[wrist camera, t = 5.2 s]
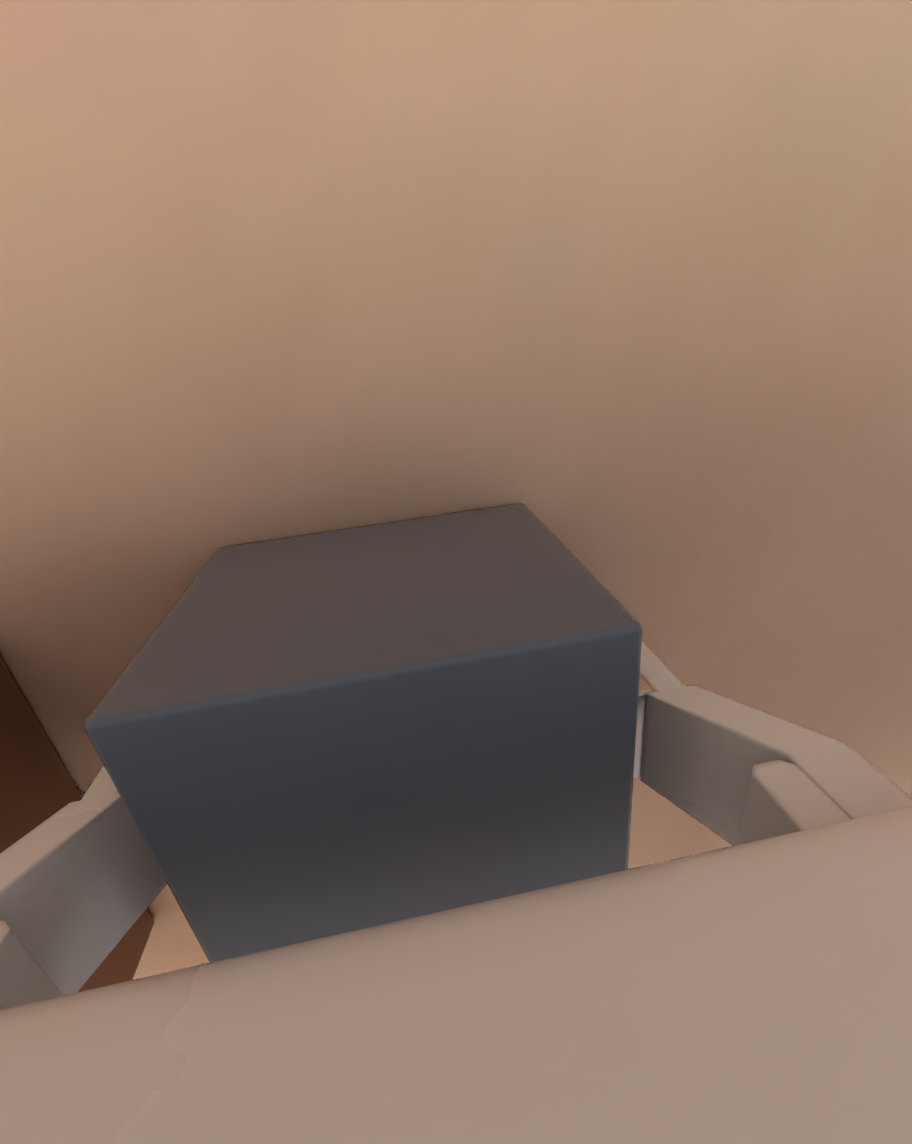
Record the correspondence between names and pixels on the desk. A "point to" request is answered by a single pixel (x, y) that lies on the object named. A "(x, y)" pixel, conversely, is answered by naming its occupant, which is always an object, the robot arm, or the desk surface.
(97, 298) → the desk surface
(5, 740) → the walnut block
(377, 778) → the slate block
